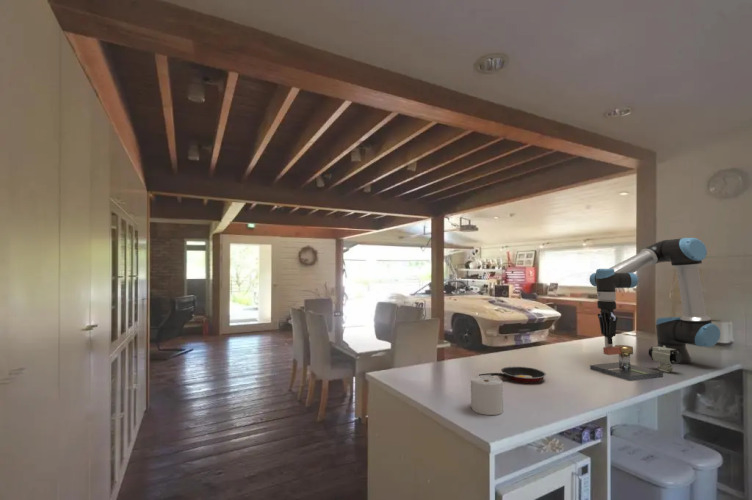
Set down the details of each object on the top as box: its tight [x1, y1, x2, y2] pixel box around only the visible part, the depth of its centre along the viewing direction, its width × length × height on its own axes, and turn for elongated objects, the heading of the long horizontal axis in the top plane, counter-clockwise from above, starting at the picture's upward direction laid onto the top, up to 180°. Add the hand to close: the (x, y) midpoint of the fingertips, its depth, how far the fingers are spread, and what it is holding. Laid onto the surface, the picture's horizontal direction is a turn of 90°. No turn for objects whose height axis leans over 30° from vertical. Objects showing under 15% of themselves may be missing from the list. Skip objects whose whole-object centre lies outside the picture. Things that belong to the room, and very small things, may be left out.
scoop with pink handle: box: [602, 344, 634, 356], centre depth 165 cm, size 14×7×3 cm, turn 106°
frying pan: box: [478, 365, 547, 384], centre depth 156 cm, size 19×32×4 cm, turn 106°
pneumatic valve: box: [648, 346, 682, 373], centre depth 168 cm, size 6×12×12 cm, turn 20°
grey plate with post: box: [589, 354, 664, 382], centre depth 166 cm, size 20×20×9 cm
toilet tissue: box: [470, 375, 504, 416], centre depth 123 cm, size 11×12×10 cm
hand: (609, 350), depth 167 cm, fingers closed
